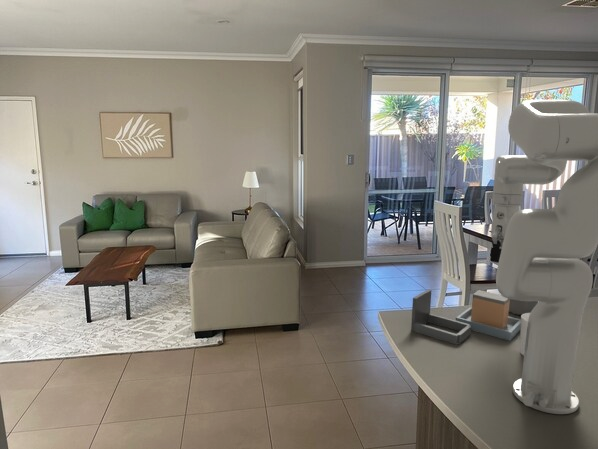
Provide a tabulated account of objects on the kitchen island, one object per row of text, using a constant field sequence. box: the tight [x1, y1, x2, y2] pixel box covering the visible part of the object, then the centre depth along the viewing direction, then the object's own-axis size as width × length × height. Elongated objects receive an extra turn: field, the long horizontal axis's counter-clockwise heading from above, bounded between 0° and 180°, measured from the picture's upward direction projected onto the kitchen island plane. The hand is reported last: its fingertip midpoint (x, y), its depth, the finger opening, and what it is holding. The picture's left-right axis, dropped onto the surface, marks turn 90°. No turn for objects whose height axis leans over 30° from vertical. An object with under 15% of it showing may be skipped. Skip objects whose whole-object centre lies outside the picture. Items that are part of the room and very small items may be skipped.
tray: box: [455, 306, 521, 341], centre depth 132 cm, size 12×16×2 cm
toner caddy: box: [471, 289, 510, 329], centre depth 131 cm, size 5×9×9 cm, turn 48°
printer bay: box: [410, 289, 472, 345], centre depth 128 cm, size 10×14×10 cm
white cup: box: [519, 313, 530, 357], centre depth 114 cm, size 8×8×10 cm
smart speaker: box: [509, 299, 539, 317], centre depth 142 cm, size 10×9×14 cm
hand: (501, 258), depth 128 cm, fingers open, 9 cm apart
